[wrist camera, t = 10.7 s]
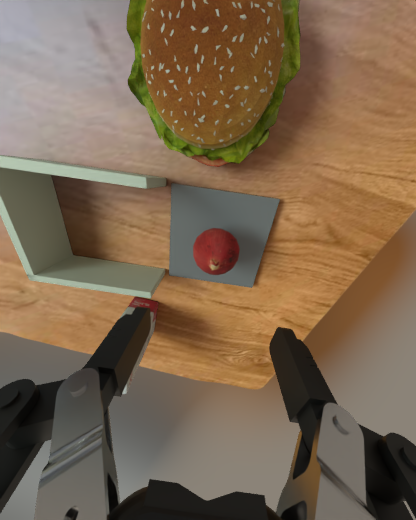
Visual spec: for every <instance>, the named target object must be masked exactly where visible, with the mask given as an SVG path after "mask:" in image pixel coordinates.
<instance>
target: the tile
mask: <svg viewBox="0 0 416 520" xmlns="http://www.w3.org/2000/svg"><path fill="white" fill-rule="evenodd" d="M279 201H280V199H278V198H271V197H264V196H257V195H250V194H244V193H237V192H230V191H223V190H216V189H210V188H203V187H196V186H189V185H182V184H176V183H172V187H171V226H170V264H169V275H171V276H177V277H184V278H191V279H198V280H204V281H211V282H218V283H224V284H231V285H238V286H244V287H251V288H252V287H253V283H254V280H255V277H256V274H257V271H258V268H259V264H260V261H261V258H262V255H263V252H264V248H265V245H266V242H267V239H268V236H269V232H270V229H271V226H272V223H273V220H274V217H275V213H276V210H277V207H278V204H279ZM211 228H221V229H223V230H225V231H228V232H230V233H231V234H232V235H233V236H234V237H235V238H236V239H237V242H238V245H239V248H240V251H239V258H238V261H237V262H236V264H235V265H234V267H233V268H232V269H231V270H230V271H228V272H226V273H225V274H221V275H210V274H208V273H206V272H204V271H202V270H201V269H200V268H199V267H198V266H197V264H196V262H195V259H194V257H193V245H194V243H195V241H196V238H197V237H198V236H199V235H200V234H201V233H203V232H204V231H206V230H208V229H211Z"/></svg>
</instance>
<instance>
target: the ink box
mask: <svg viewBox="0 0 416 520" xmlns="http://www.w3.org/2000/svg"><path fill="white" fill-rule="evenodd" d="M137 306H139V307H146V308H150V315H151V328H150V332H149V335H148V337H147V340H146V342H145V344H144V346H143V349H142V351H141V353H140V355H139V357H138V360H137V362H136V364H135V366H134V368H133V371H132V373H131V375H130V377H129V380H128V382H127V384H126V386H125V388H124V391H123V393H122V394H126V393H127V391H128V389H129V387H130V384H131V382H132V380H133V378H134V375H135V373H136V370H137V368H138V366H139V364H140V362H141V359H142V357H143V355H144V352H145V350H146V348H147V345H148V343H149V341H150V339H151V336H152V334H153V332H154V327H155V321H156V315H157V309H158V302H155V301H152V300H148V299H144V298H139V297H135V298H134V299H133V300H132V302H131V303H130V305H129V306H128V307H127V309H126V310H125V312H124V313H123V314H122V316H121V317H123V316H124V315H125V314H130V315H131V314H132V313H133V311H134V309H135V308H136V307H137ZM121 317H120V318H121Z"/></svg>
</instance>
